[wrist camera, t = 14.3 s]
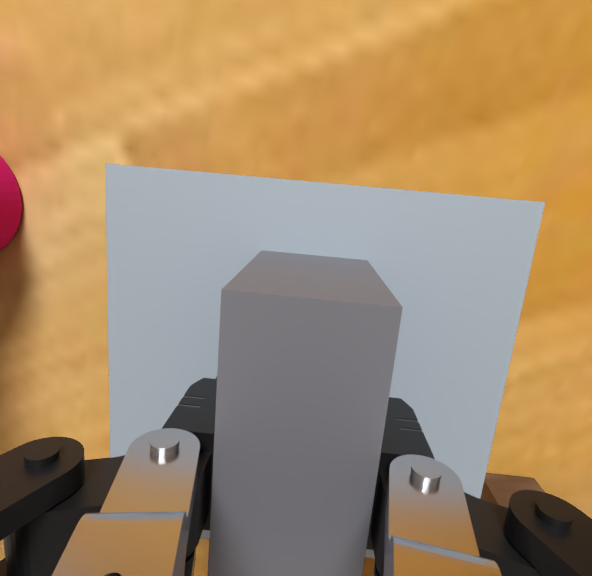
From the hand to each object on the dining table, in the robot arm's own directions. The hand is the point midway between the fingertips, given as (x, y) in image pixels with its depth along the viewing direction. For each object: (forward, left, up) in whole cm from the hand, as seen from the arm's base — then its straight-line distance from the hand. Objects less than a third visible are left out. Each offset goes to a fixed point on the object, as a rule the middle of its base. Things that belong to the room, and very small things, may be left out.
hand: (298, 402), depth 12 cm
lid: (0, 0, -3) cm, 3 cm away
